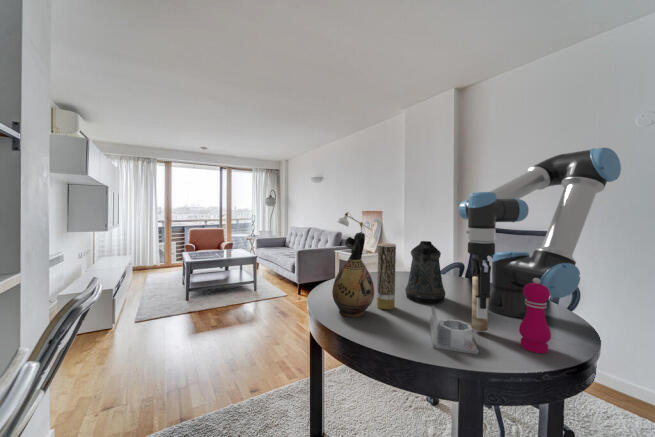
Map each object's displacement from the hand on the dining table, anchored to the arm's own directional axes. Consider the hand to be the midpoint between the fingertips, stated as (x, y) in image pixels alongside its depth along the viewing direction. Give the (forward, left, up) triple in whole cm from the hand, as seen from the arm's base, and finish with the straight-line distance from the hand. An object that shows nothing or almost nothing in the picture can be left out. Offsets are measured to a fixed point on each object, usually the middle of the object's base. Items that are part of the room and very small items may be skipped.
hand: (479, 314), depth 89 cm
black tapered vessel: (+14, -30, -6) cm, 34 cm away
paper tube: (+30, -14, -6) cm, 34 cm away
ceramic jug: (+41, -5, -6) cm, 42 cm away
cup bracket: (+8, +9, -6) cm, 14 cm away
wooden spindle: (0, 0, -4) cm, 4 cm away
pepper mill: (-13, +6, -6) cm, 15 cm away
